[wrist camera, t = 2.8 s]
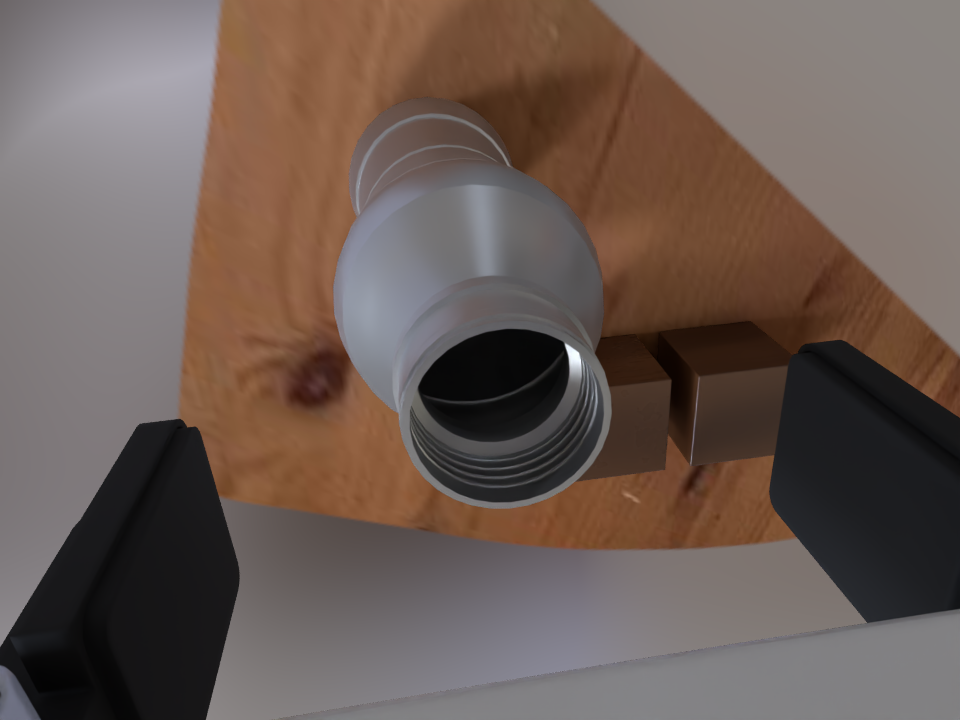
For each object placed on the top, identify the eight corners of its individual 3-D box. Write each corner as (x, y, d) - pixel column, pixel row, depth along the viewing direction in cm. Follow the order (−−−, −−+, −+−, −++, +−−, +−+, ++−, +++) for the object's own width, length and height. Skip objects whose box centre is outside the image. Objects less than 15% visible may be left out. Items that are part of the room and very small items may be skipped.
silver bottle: (465, 62, 27) (627, 141, 10) (527, 213, 30) (736, 487, 13) (321, 132, 28) (218, 334, 10) (397, 275, 31) (420, 621, 13)
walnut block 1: (540, 344, 33) (563, 392, 29) (635, 333, 34) (672, 379, 30) (542, 427, 36) (564, 483, 31) (631, 416, 36) (665, 470, 32)
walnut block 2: (658, 331, 34) (698, 376, 30) (751, 320, 34) (803, 363, 30) (653, 413, 36) (690, 466, 32) (740, 403, 36) (788, 453, 32)
